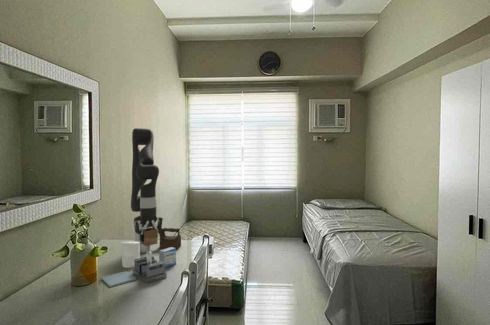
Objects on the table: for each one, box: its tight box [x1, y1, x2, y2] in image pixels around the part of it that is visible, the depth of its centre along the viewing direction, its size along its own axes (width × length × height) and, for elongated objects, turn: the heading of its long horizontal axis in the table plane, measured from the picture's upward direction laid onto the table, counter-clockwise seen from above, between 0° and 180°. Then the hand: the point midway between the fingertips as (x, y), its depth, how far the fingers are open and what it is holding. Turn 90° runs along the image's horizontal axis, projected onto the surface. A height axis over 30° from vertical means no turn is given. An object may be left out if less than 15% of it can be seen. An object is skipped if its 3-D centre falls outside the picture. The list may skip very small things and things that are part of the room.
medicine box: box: [158, 247, 177, 269], centre depth 168 cm, size 8×4×9 cm, turn 143°
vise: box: [132, 250, 168, 284], centre depth 155 cm, size 16×10×12 cm, turn 41°
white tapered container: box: [121, 240, 141, 269], centre depth 169 cm, size 9×9×12 cm
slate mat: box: [100, 270, 137, 288], centre depth 150 cm, size 12×12×1 cm
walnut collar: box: [140, 227, 158, 246], centre depth 154 cm, size 6×6×7 cm
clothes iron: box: [158, 227, 182, 251], centre depth 198 cm, size 8×16×13 cm, turn 83°
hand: (148, 240), depth 154 cm, fingers closed on walnut collar, 6 cm apart
